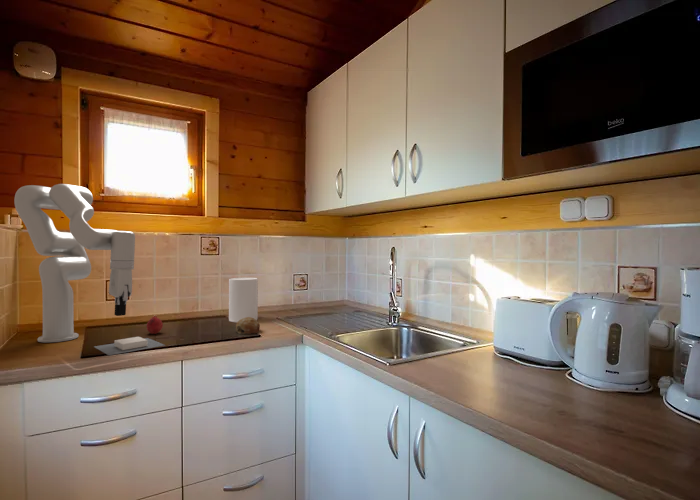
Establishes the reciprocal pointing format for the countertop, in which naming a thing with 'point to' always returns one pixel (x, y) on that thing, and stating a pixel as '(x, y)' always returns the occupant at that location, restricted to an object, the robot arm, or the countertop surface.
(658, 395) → the countertop surface
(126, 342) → the picture frame
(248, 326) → the bread roll
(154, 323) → the onion
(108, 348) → the mat
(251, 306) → the canister
